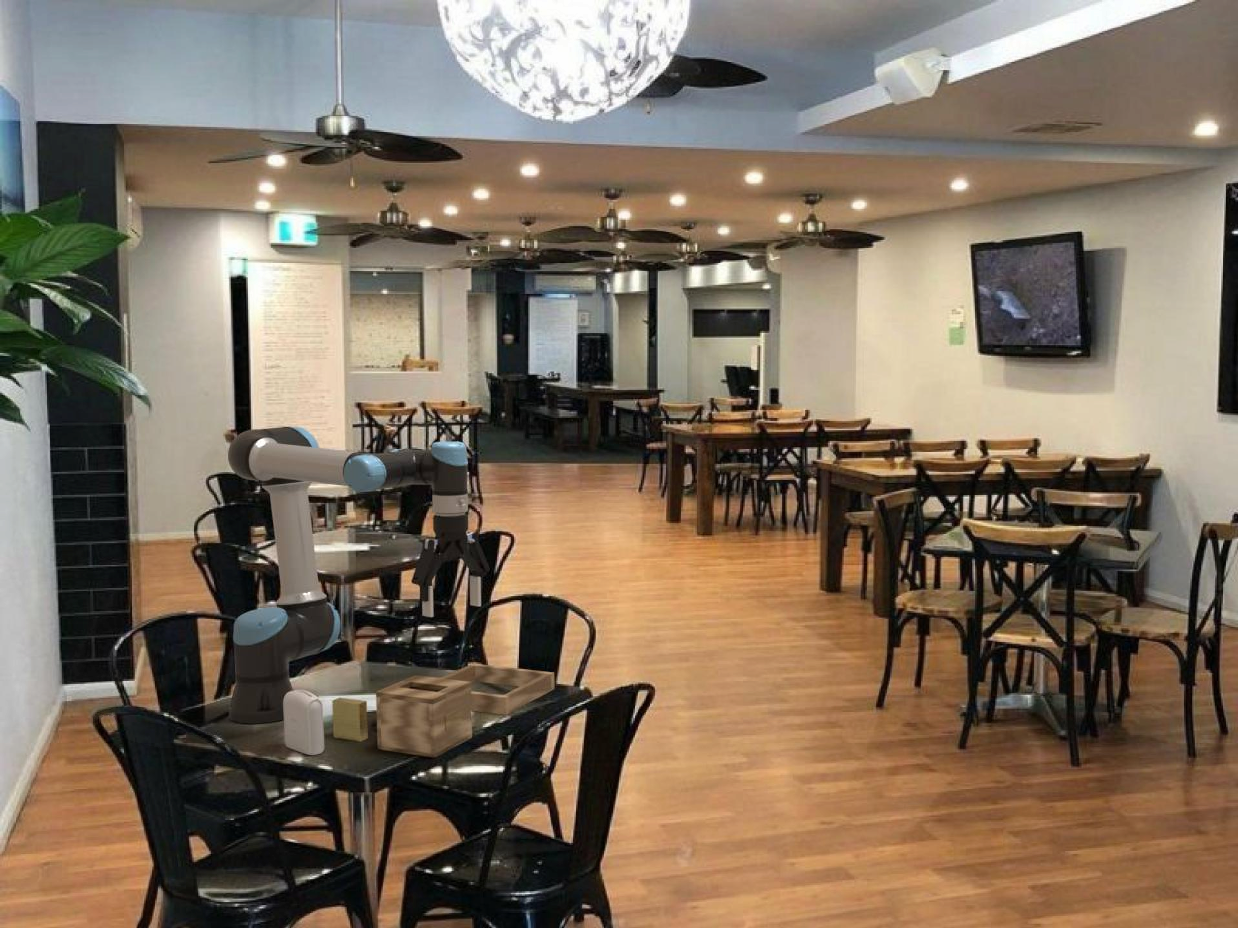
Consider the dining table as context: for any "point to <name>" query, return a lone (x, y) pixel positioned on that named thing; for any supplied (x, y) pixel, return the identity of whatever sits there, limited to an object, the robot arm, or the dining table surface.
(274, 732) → the dining table surface
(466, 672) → the frame
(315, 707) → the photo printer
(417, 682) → the coin box
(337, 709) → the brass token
